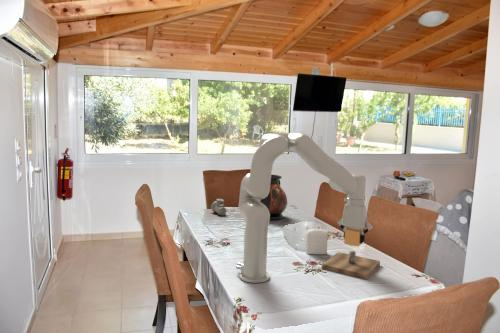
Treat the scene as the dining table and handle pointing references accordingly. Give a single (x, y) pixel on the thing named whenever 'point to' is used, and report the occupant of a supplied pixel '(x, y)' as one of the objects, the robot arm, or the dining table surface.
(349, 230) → the solid orange cube
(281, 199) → the amphora vase
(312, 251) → the photo printer
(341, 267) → the board
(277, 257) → the dining table surface
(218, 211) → the grey lumpy piece
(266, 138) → the robot arm
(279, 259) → the dining table surface
